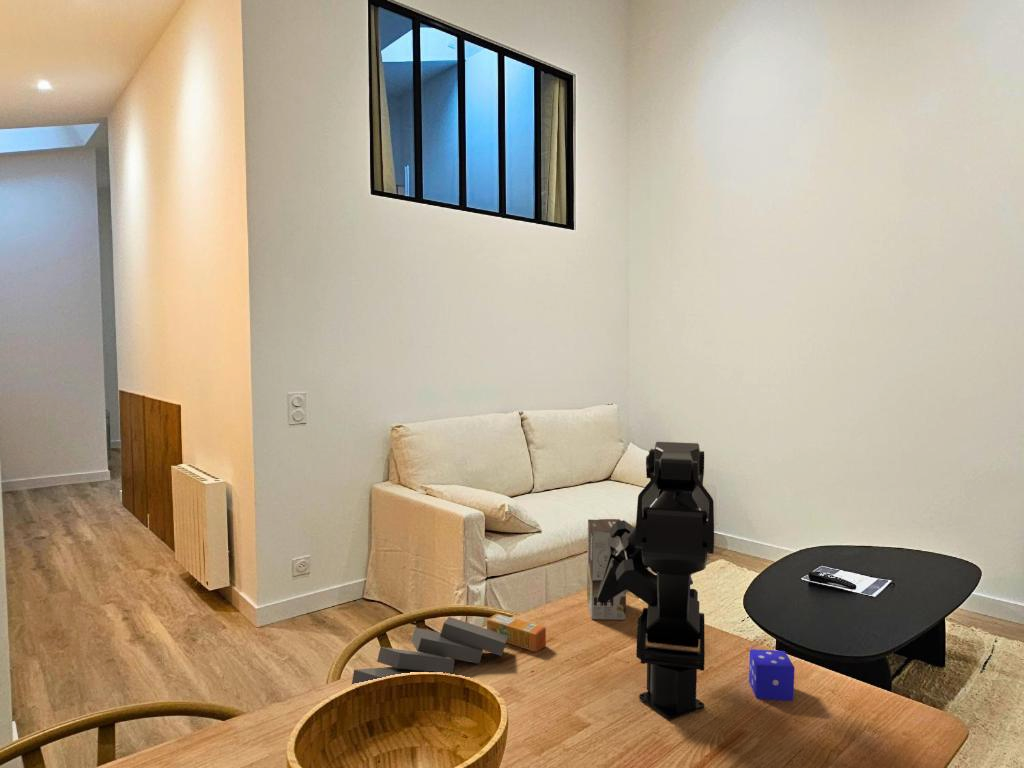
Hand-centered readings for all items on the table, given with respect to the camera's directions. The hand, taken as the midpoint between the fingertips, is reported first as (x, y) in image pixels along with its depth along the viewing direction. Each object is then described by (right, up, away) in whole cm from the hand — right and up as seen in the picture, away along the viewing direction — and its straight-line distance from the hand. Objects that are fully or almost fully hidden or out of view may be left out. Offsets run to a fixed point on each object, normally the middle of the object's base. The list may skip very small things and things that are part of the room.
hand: (599, 600), depth 105 cm
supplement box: (-8, -8, +7) cm, 14 cm away
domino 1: (-27, -9, -6) cm, 29 cm away
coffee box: (+4, -9, +23) cm, 26 cm away
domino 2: (-24, -9, -1) cm, 25 cm away
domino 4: (-14, -8, +4) cm, 17 cm away
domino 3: (-19, -9, +4) cm, 21 cm away
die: (+24, -11, -6) cm, 27 cm away
